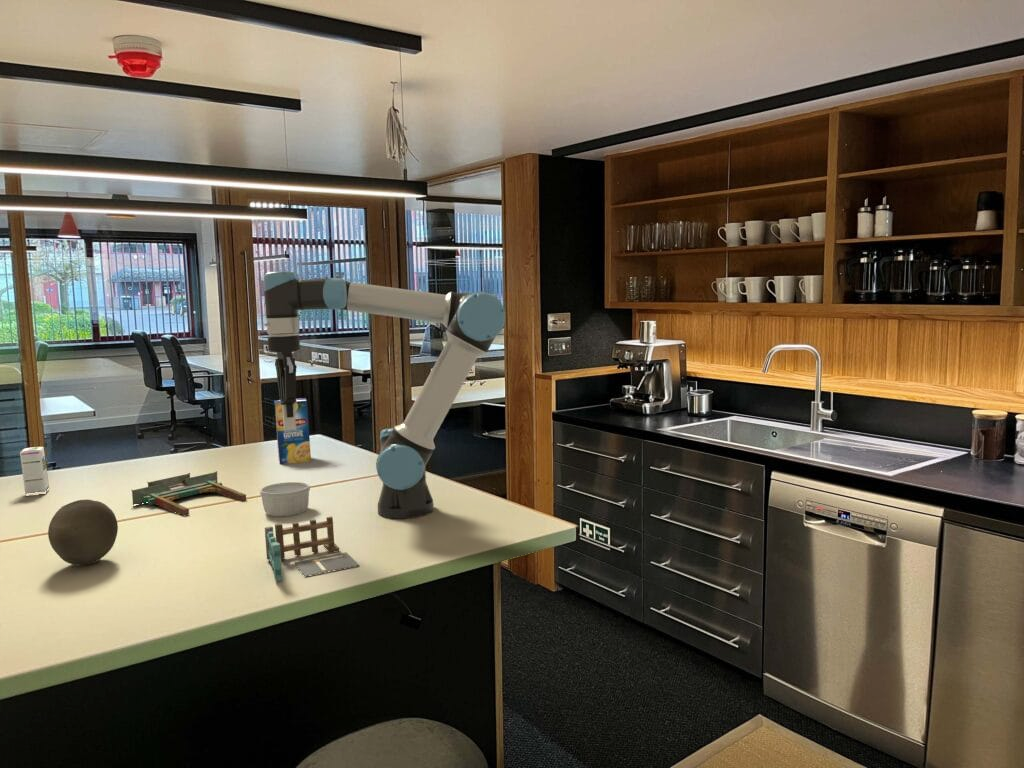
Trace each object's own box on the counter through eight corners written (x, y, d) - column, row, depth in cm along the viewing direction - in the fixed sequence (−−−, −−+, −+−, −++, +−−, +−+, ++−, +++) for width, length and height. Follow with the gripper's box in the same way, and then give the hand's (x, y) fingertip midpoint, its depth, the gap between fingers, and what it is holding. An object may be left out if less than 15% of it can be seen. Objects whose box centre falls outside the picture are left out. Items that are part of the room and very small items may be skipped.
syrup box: (46, 494, 247) (41, 449, 245) (24, 497, 245) (19, 451, 243) (49, 490, 252) (44, 445, 250) (28, 492, 250) (23, 447, 248)
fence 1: (266, 557, 179) (264, 525, 179) (274, 556, 180) (272, 524, 179) (274, 580, 165) (271, 545, 164) (283, 579, 166) (280, 544, 165)
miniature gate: (169, 507, 214) (120, 484, 233) (170, 527, 215) (121, 502, 234) (257, 486, 234) (205, 466, 253) (258, 504, 235) (206, 483, 254)
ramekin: (288, 502, 228) (286, 479, 227) (321, 508, 221) (319, 484, 220) (251, 515, 217) (249, 490, 216) (285, 521, 210) (283, 495, 209)
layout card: (346, 553, 182) (346, 551, 182) (359, 566, 173) (359, 564, 173) (294, 563, 177) (293, 561, 176) (304, 577, 168) (304, 575, 168)
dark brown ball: (44, 566, 180) (36, 502, 178) (109, 550, 190) (103, 489, 188) (62, 581, 170) (54, 514, 168) (130, 563, 180) (124, 499, 178)
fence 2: (333, 545, 188) (331, 512, 187) (339, 551, 184) (337, 517, 183) (275, 556, 182) (273, 522, 181) (280, 562, 178) (277, 527, 177)
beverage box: (311, 461, 282) (307, 400, 280) (279, 464, 279) (275, 402, 276) (309, 457, 289) (305, 398, 286) (278, 460, 285) (274, 400, 282)
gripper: (262, 334, 197) (269, 427, 200) (273, 337, 186) (280, 435, 189) (292, 333, 201) (298, 424, 204) (305, 335, 189) (311, 431, 192)
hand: (289, 429), depth 196 cm, fingers closed
